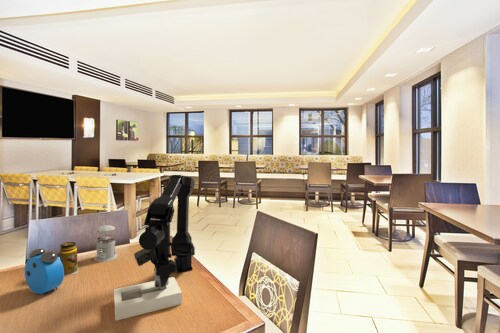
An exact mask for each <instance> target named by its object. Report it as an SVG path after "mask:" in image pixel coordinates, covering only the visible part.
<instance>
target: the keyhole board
mask: <svg viewBox="0 0 500 333" xmlns="http://www.w3.org/2000/svg"><path fill="white" fill-rule="evenodd" d="M158 290H159V287H156V286H155V280H151V281H147V282H142V283H138V284H133V285H129V286H128V285H127V286H123V287H118V288H114V289H113V296H114V297H113V299H114V300H113V301H114V303H113V304H114V321H116V322H117V321H122V320H124V319H128V318H132V317H136V316H139V315H143V314H149V313H151V312H155V311H159V310H163V309H167V308H171V307H175V306H178V305H182V304H183V292H182V290H181V288H180V286H179V284H178V282H177V280H176V278H175V277H174V276H172V277H169V284H168V285H167V286H165V289H163V290H159V291H158Z"/></svg>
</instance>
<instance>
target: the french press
mask: <svg viewBox="0 0 500 333" xmlns="http://www.w3.org/2000/svg"><path fill="white" fill-rule="evenodd" d="M102 208H103V209H107V208H108V205H106V204H104V205H102ZM106 218H107V217H106V216H104V225H101V226H99V227H97V228H96V229H95V232H96V234H95V240H96V242H95V244H96V256H95V257H94V259H93V260H94V262H97V263H105V262H110V261H113V260H115V259H117V258H118V257H119V256H118V254H117V253H116V239H115V236H114V235H113V234H107V233H110V232H113V231H114V230H116V227H115V226H113V225H110V224H107V220H106ZM103 233H105V235H101V234H103ZM98 234H99V236H97V235H98Z"/></svg>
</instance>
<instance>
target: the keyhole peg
mask: <svg viewBox="0 0 500 333" xmlns="http://www.w3.org/2000/svg"><path fill="white" fill-rule="evenodd" d="M153 281H155V286H156V287H159V290H163V289H165V287H161V283H160V278H159V276H157V275H156V273H155V272H154V280H153ZM168 284H169V279H168V281H167V283H166V285H165V286H167V285H168ZM159 290H158V291H159Z"/></svg>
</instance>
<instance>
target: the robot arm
mask: <svg viewBox="0 0 500 333" xmlns="http://www.w3.org/2000/svg"><path fill="white" fill-rule="evenodd" d="M194 188H195V179H194V178H192V177H191V176H185V175H183V174H171V175H170V177H169V181H168V183H167V185H166V186H165V188H164V190H163V191H162V194H161V195H160V196H158V197H156V198H154V200H153V201H152V202H151V203H150V204H149V206H148V208H147V212H146V215H145V220H144V223H143V225H144V226H145V228H144V232H142V233H141V234H140V236H139V238H138V244H139V246H140V247H141V248H142V249H140V250H138V251H136V252H135V253H134V254H133V256H134V259H135V261H136V263H137V266H138V267H142V266H143V265H144V264H146V263H148V262H150V263H151V264H153V265H154V269H153V271H154V273H156V275H157V276H159V278H160V283H161V287H165V285H166V283H167V281H168V279H169V278H170V276H171V274H173V273H183V272H187V271H189V272H190V271H193V270H194V269H193V267H192V264H193V263H192V260H193V259H192V257H193V256H195V254H196V248H195V247H196V246H194V243H193V241H192V236H191V234H190V233H189V215H190V214H189V212H190V211H189V208H190V205H189V204H190V196H191V195H192V193H193V192H194ZM176 198H177V210H176V211H177V213H176V214H177V215H176V233H175V235H174V236H173V237H172V238H171V223H172V221H173V218H174V215H175V208H174V202H175V200H176ZM172 257H174V258H173V259H170V258H172Z"/></svg>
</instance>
